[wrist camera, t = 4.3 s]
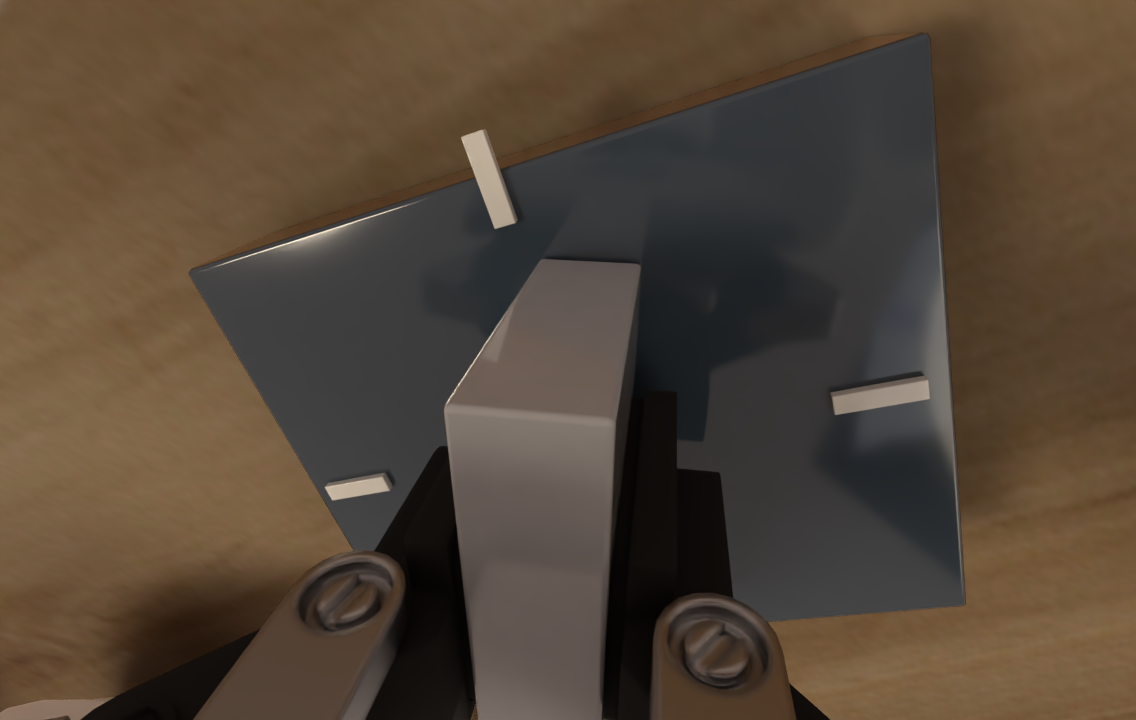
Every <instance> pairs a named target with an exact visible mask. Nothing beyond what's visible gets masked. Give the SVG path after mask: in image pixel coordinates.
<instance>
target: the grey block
mask: <svg viewBox="0 0 1136 720" xmlns="http://www.w3.org/2000/svg"><path fill="white" fill-rule="evenodd" d="M640 282H641V267H640V265H638V264H632V263H612V262H592V261H572V260H552V259H542V260H540V261H539V262H538V264H537V265H536V267H535V268H534V270H533V271H532V273H531V275H530V276H529V278H528V279H527V281H526V282H525V284H524V285H523V287H522V288H521V290H520V291H519V293H518V294H517V296H516V297H515V299H514V300H513V302H512V303H511V305H510V306H509V308H508V310H507V311H506V313H505V314H504V316H503V317H502V319H501V320H500V322H499V323H498V325H497V326H496V328H495V329H494V331H493V332H492V334H491V335H490V337H489V338H488V340H487V341H486V343H485V345H484V346H483V348H482V349H481V351H480V352H479V354H478V355H477V357H476V358H475V360H474V361H473V363H472V364H471V366H470V367H469V369H468V370H467V372H466V373H465V375H464V376H463V378H462V379H461V381H460V383H459V384H458V386H457V387H456V389H455V390H454V392H453V393H452V395H451V396H450V398H449V399H448V401H447V402H446V404H445V407H444V417H445V426H446V435H447V444H448V453H449V462H450V471H451V480H452V489H453V498H454V507H455V516H456V525H457V534H458V543H459V552H460V561H461V570H462V579H463V589H464V598H465V607H466V616H467V625H468V634H469V643H470V652H471V661H472V670H473V679H474V688H475V697H476V706H477V715H478V720H605V719H604V715H605V693H606V671H607V649H608V628H609V606H610V584H611V568H612V557H613V547H614V539H615V531H616V523H617V515H618V507H619V500H620V492H621V484H622V476H623V468H624V460H625V452H626V444H627V437H628V429H629V421H630V413H631V405H632V397H634V383H635V366H636V350H637V333H638V316H639V299H640Z"/></svg>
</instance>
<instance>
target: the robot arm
mask: <svg viewBox="0 0 1136 720" xmlns="http://www.w3.org/2000/svg"><path fill="white" fill-rule="evenodd" d="M475 703H476V697H475V688H474V679H473V670H472V661H471V652H470V643H469V634H468V625H467V616H466V607H465V598H464V589H463V579H462V570H461V561H460V552H459V543H458V534H457V525H456V516H455V507H454V498H453V489H452V480H451V471H450V462H449V453H448V446H440V447H438V448H437V449H436V451H435V452H434V453H433V455H432V456H431V458H430V460H429V461H428V463H427V465H426V466H425V468H424V470H423V471H422V473H421V475H420V476H419V478H418V479H417V481H416V483H415V484H414V486H413V488H412V489H411V491H410V493H409V494H408V496H407V498H406V499H405V501H404V503H403V504H402V506H401V508H400V509H399V511H398V512H397V514H396V516H395V517H394V519H393V521H392V522H391V524H390V526H389V527H388V529H387V531H386V532H385V534H384V536H383V537H382V539H381V541H380V542H379V544H378V545H377V547H376V549H375V550H374V551H358V550H356V551H352V552H347V553H342V554H338V555H336V556H333V557H331V558H328V559H326V560H324V561H321V562H320V563H318V564H317V565H315V566H314V567H312V568H311V569H309V570H308V571H306V572H305V573H304V574H303V576H302V577H301V578H300V579H299V580H298V581H297V582H296V583H295V584H294V585H293V586H292V588H291V589H290V590H289V592H288V593H287V594H286V596H285V597H284V598H283V600H282V601H281V602H280V604H279V605H278V606H277V608H276V609H275V610H274V612H273V613H272V614H271V616H270V617H269V618H268V620H267V621H266V622H265V624H264V625H263V627H262V628H261V629H259V630H257V631H255V632H253V633H251V634H249V635H247V636H244V637H242V638H240V639H238V640H236V641H234V642H231V643H229V644H227V645H225V646H223V647H221V648H219V649H216V650H214V651H212V652H210V653H208V654H206V655H204V656H201V657H199V658H197V659H195V660H193V661H191V662H189V663H186V664H184V665H182V666H180V667H178V668H176V669H174V670H171V671H169V672H167V673H165V674H163V675H161V676H159V677H156V678H154V679H152V680H150V681H148V682H146V683H144V684H141V685H139V686H137V687H135V688H133V689H131V690H129V691H126V692H124V693H122V694H120V695H118V696H116V697H114V698H112V699H111V700H109V701H107V702H105V703H104V704H102V705H100V706H98V707H97V708H95V709H93V710H92V711H91V712H89V713H88V714H87V715H86V716H84V717H83V718H82V719H81V720H470V719H471V716H472V712H473V709H474V706H475ZM604 719H605V720H830V719H829V718H828V717H827V716H826V715H824V714H823V713H822V712H821V711H820V710H819V709H818V708H817V707H815V706H814V705H813V704H812V703H811V702H810V701H809V700H808V699H806V698H805V697H804V696H803V695H802V694H801V693H800V692H799V691H797V690H796V689H795V688H794V687H793V686H792V685H791V684H790V683H789V680H788V675H787V670H786V665H785V660H784V655H783V651H782V648H781V645H780V643H779V640H778V637H777V635H776V633H775V631H774V630H773V629H772V628H771V626H770V625H769V624H768V622H767V621H766V620H765V618H764V617H762V616H761V615H760V614H759V613H757V612H756V611H755V610H754V609H752V608H751V607H750V606H749V605H747V604H744V603H742V602H740V601H738V600H736V599H734V598H733V589H732V580H731V570H730V561H729V551H728V541H727V532H726V522H725V512H724V503H723V493H722V484H721V477H720V473H719V472H712V471H701V470H691V469H681V468H677V392H674V391H662V390H649V389H645V394H644V397H632V405H631V413H630V421H629V429H628V437H627V444H626V452H625V460H624V468H623V476H622V484H621V492H620V500H619V507H618V515H617V523H616V531H615V539H614V547H613V557H612V568H611V584H610V606H609V628H608V649H607V671H606V693H605V715H604ZM46 720H71V719H70V718H69V716H68V715H67V716H62V717H56V718H51V719H46Z"/></svg>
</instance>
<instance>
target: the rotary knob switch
mask: <svg viewBox="0 0 1136 720" xmlns="http://www.w3.org/2000/svg"><path fill="white" fill-rule="evenodd" d="M461 139H462V142H463V145H464V147H465V150H466V153H467V155H468V158H469V161H470V163H471V166H472V167H471V168H468V169H465V170H462V171H459V172H456V173H453V174H450V175H447V176H444V177H441V178H438V179H435V180H432V181H429V182H426V183H423V184H420V185H417V186H414V187H410V188H407V189H404V190H401V191H398V192H395V193H392V194H389V195H386V196H383V197H380V198H377V199H374V200H371V201H368V202H365V203H362V204H359V205H356V206H353V207H350V208H347V209H344V210H341V211H338V212H334V213H331V214H328V215H325V216H322V217H319V218H316V219H313V220H310V221H307V222H304V223H301V224H298V225H295V226H292V227H289V228H286V229H283V230H280V231H277V232H274V233H271V234H268V235H266V236H264V237H261V238H259V239H257V240H255V241H252V242H250V243H248V244H246V245H243V246H241V247H239V248H237V249H234V250H232V251H230V252H228V253H225V254H223V255H221V256H219V257H216V258H214V259H212V260H210V261H207V262H205V263H203V264H201V265H198V266H196V267H194V268H192V269H191V270H190V271H189V272H188V273H189V276H190V278H191V279H192V281H193V283H194V284H195V286H196V288H197V289H198V291H199V293H200V294H201V296H202V298H203V299H204V301H205V303H206V304H207V306H208V308H209V310H210V311H211V313H212V315H213V316H214V318H215V320H216V321H217V323H218V325H219V326H220V328H221V330H222V331H223V333H224V335H225V336H226V338H227V340H228V341H229V343H230V345H231V346H232V348H233V350H234V351H235V353H236V355H237V356H238V358H239V360H240V361H241V363H242V365H243V366H244V368H245V370H246V371H247V373H248V375H249V376H250V378H251V380H252V381H253V383H254V385H255V386H256V388H257V390H258V392H259V393H260V395H261V397H262V398H263V400H264V402H265V403H266V405H267V407H268V408H269V410H270V412H271V413H272V415H273V417H274V418H275V420H276V422H277V423H278V425H279V427H280V428H281V430H282V432H283V433H284V435H285V437H286V438H287V440H288V442H289V443H290V445H291V447H292V448H293V450H294V452H295V453H296V455H297V457H298V458H299V460H300V462H301V463H302V465H303V467H304V468H305V470H306V472H307V474H308V475H309V477H310V479H311V480H312V482H313V484H314V485H315V487H316V489H317V490H318V492H319V494H320V495H321V497H322V499H323V500H324V502H325V504H326V505H327V507H328V509H329V510H330V512H331V514H332V515H333V517H334V519H335V520H336V522H337V524H338V525H339V527H340V529H341V530H342V532H343V534H344V535H345V537H346V539H347V540H348V542H349V544H350V545H351V547H352V549H353V550H354V551H356V550H358V551H374V550H375V549H376V547H377V545H378V544H379V542H380V541H381V539H382V537H383V536H384V534H385V532H386V531H387V529H388V527H389V526H390V524H391V522H392V521H393V519H394V517H395V516H396V514H397V512H398V511H399V509H400V508H401V506H402V504H403V503H404V501H405V499H406V498H407V496H408V494H409V493H410V491H411V489H412V488H413V486H414V484H415V483H416V481H417V479H418V478H419V476H420V475H421V473H422V471H423V470H424V468H425V466H426V465H427V463H428V461H429V460H430V458H431V456H432V455H433V453H434V452H435V451H436V449H437V448H438V447H440V446H448V444H447V435H446V426H445V417H444V407H445V404H446V402H447V401H448V399H449V398H450V396H451V395H452V393H453V392H454V390H455V389H456V387H457V386H458V384H459V383H460V381H461V379H462V378H463V376H464V375H465V373H466V372H467V370H468V369H469V367H470V366H471V364H472V363H473V361H474V360H475V358H476V357H477V355H478V354H479V352H480V351H481V349H482V348H483V346H484V345H485V343H486V341H487V340H488V338H489V337H490V335H491V334H492V332H493V331H494V329H495V328H496V326H497V325H498V323H499V322H500V320H501V319H502V317H503V316H504V314H505V313H506V311H507V310H508V308H509V306H510V305H511V303H512V302H513V300H514V299H515V297H516V296H517V294H518V293H519V291H520V290H521V288H522V287H523V285H524V284H525V282H526V281H527V279H528V278H529V276H530V275H531V273H532V271H533V270H534V268H535V267H536V265H537V264H538V262H539V261H540V260H542V259H552V260H572V261H592V262H612V263H632V264H638V265H640V267H641V282H640V299H639V316H638V333H637V350H636V366H635V383H634V397H644V394H645V389H649V390H662V391H674V392H677V468H681V469H691V470H701V471H712V472H719V473H720V477H721V484H722V493H723V503H724V512H725V522H726V532H727V541H728V551H729V561H730V570H731V580H732V589H733V598H734V599H736V600H738V601H740V602H742V603H744V604H747V605H749V606H750V607H751V608H752V609H754V610H755V611H756V612H757V613H759V614H760V615H761V616H762V617H764V618H765V620H766V621H767V622H776V621H788V620H800V619H812V618H825V617H837V616H849V615H861V614H873V613H885V612H897V611H909V610H922V609H934V608H946V607H958V606H964V605H965V604H966V593H965V577H964V561H963V545H962V529H961V514H960V498H959V482H958V466H957V450H956V434H955V419H954V403H953V387H952V371H951V355H950V340H949V324H948V308H947V292H946V276H945V261H944V245H943V229H942V213H941V197H940V182H939V166H938V150H937V134H936V118H935V102H934V87H933V71H932V55H931V39H930V36H929V34H928V33H923V32H920V33H908V34H896V35H884V36H872V37H867V38H864V39H861V40H858V41H854V42H851V43H848V44H845V45H842V46H839V47H836V48H833V49H830V50H827V51H824V52H821V53H818V54H815V55H812V56H809V57H806V58H803V59H800V60H797V61H794V62H791V63H788V64H785V65H781V66H778V67H775V68H772V69H769V70H766V71H763V72H760V73H757V74H754V75H751V76H748V77H745V78H742V79H739V80H736V81H733V82H730V83H727V84H724V85H721V86H718V87H715V88H712V89H709V90H705V91H702V92H699V93H696V94H693V95H690V96H687V97H684V98H681V99H678V100H675V101H672V102H669V103H666V104H663V105H660V106H657V107H654V108H651V109H648V110H645V111H642V112H639V113H636V114H632V115H629V116H626V117H623V118H620V119H617V120H614V121H611V122H608V123H605V124H602V125H599V126H596V127H593V128H590V129H587V130H584V131H581V132H578V133H575V134H572V135H569V136H566V137H563V138H560V139H556V140H553V141H550V142H547V143H544V144H541V145H538V146H535V147H532V148H529V149H526V150H523V151H520V152H517V153H514V154H511V155H508V156H505V157H502V158H499V159H496V157H495V154H494V151H493V148H492V145H491V143H490V140H489V137H488V134H487V131H486V129H482V130H479V131H476V132H473V133H470V134H468V135H465V136H462V137H461Z"/></svg>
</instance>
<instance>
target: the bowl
mask: <svg viewBox="0 0 1136 720" xmlns="http://www.w3.org/2000/svg"><path fill="white" fill-rule="evenodd" d="M112 698H114V697H108V698H98V699H93V700H88V699H79V700H40V701H36V702H31V703H27V704H23V705H18V706H14V707H9V708H7V709H5V710H3V711H2V712H0V720H46V719H51V718H56V717H62V716H67V715H68V716H69V718H70V719H71V720H81V719H82V718H83V717H84V716H86V715H87V714H88V713H89V712H91V711H92V710H93V709H95V708H97V707H98V706H100V705H102V704H104V703H105V702H107V701H109V700H111V699H112Z"/></svg>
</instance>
